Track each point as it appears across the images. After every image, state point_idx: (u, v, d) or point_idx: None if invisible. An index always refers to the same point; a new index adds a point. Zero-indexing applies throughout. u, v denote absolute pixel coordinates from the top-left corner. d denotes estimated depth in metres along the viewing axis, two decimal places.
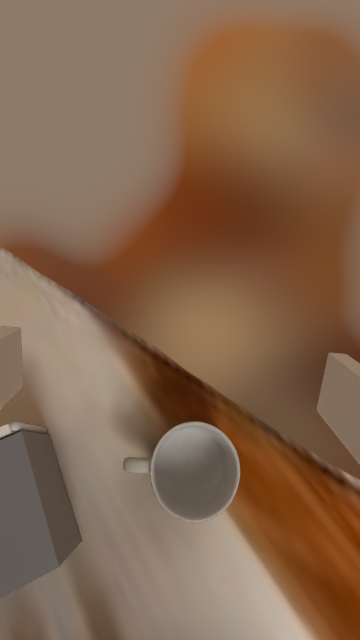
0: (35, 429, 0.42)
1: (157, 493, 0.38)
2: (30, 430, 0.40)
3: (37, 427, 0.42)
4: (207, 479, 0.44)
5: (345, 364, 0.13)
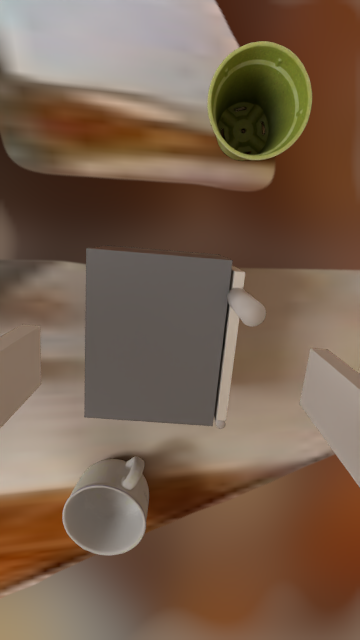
0: None
1: (101, 487, 0.41)
2: None
3: None
4: (97, 490, 0.49)
5: (324, 358, 0.13)
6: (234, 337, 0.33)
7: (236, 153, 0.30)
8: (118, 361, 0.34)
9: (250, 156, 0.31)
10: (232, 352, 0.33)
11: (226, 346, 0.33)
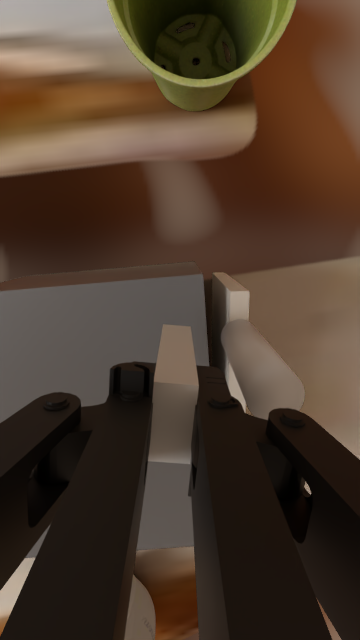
0: None
1: None
2: None
3: None
4: None
5: (176, 332, 0.15)
6: None
7: (176, 80, 0.17)
8: None
9: (203, 80, 0.17)
10: None
11: None
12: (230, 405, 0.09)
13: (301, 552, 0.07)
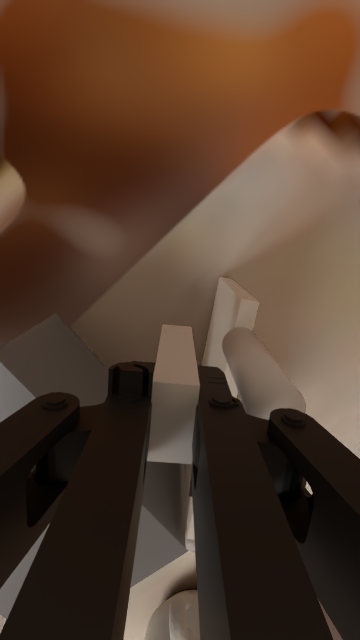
0: None
1: None
2: (185, 499, 0.25)
3: None
4: None
5: (177, 332, 0.15)
6: None
7: None
8: None
9: None
10: None
11: None
12: (231, 405, 0.09)
13: (302, 553, 0.07)
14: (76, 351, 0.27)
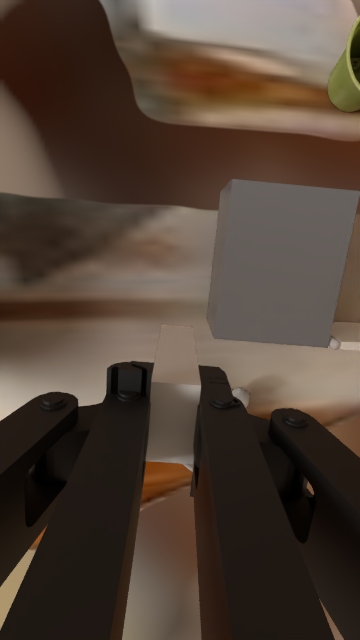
0: None
1: None
2: None
3: None
4: None
5: (178, 333, 0.15)
6: None
7: None
8: (249, 285, 0.38)
9: None
10: None
11: None
12: (232, 405, 0.09)
13: (303, 552, 0.07)
14: None
